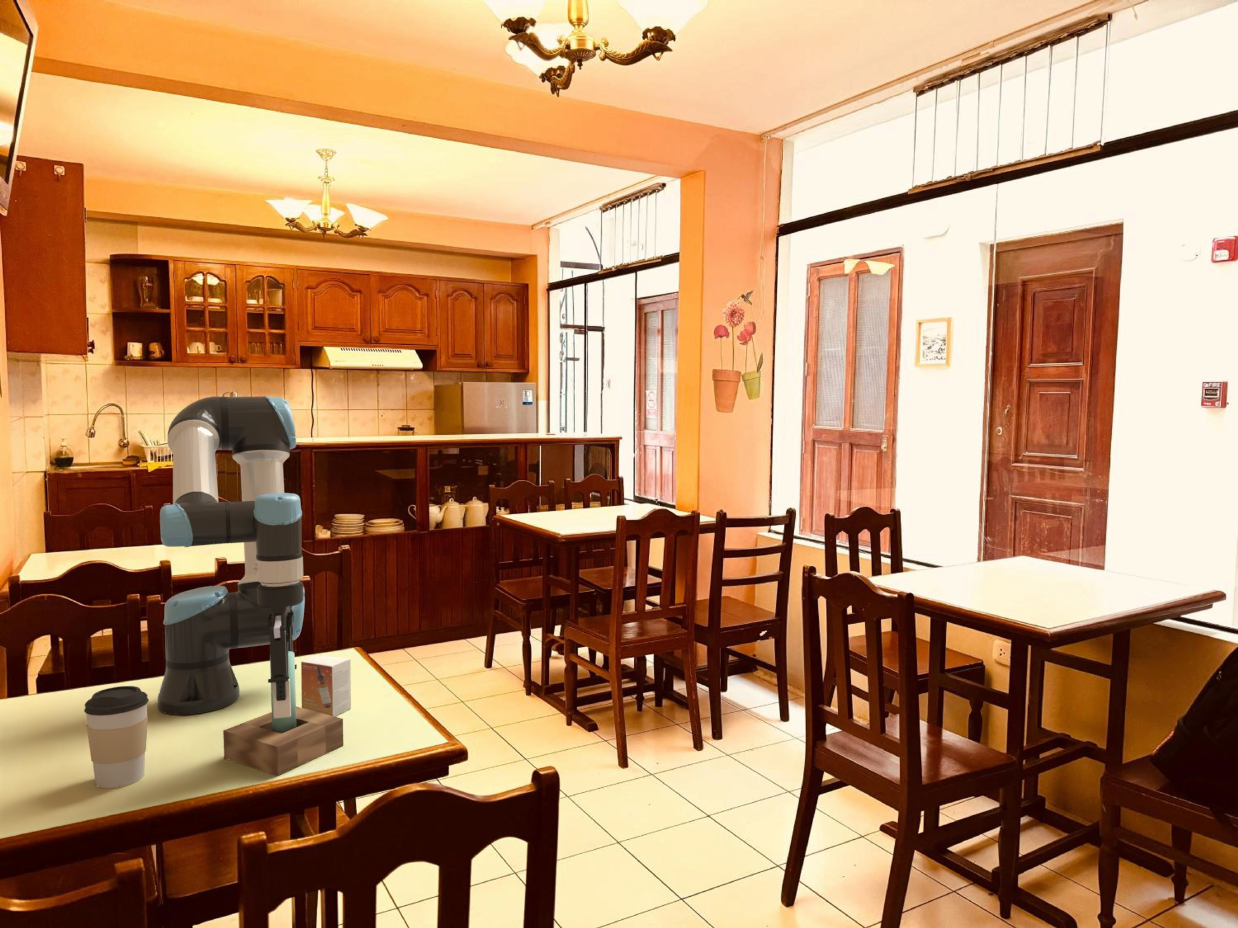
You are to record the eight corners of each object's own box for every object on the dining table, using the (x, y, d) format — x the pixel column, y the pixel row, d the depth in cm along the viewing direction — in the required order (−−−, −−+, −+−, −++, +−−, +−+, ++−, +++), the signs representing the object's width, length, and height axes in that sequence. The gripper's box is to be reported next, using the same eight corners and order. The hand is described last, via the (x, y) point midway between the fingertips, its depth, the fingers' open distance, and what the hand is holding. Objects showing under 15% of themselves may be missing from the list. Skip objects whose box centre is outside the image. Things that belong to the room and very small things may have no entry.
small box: (301, 712, 165) (299, 661, 165) (320, 703, 171) (319, 653, 170) (332, 718, 162) (331, 666, 162) (352, 708, 168) (351, 658, 167)
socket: (224, 758, 144) (223, 730, 144) (290, 730, 156) (290, 704, 156) (278, 775, 137) (277, 746, 137) (343, 745, 150) (342, 718, 149)
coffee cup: (106, 767, 140) (102, 681, 139) (161, 765, 141) (158, 680, 140) (75, 792, 131) (71, 700, 130) (135, 790, 132) (131, 699, 131)
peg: (267, 733, 146) (264, 655, 145) (286, 725, 149) (284, 649, 148) (282, 737, 144) (280, 659, 143) (301, 730, 147) (299, 653, 146)
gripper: (263, 573, 152) (267, 697, 153) (249, 593, 135) (253, 732, 137) (307, 571, 154) (310, 694, 155) (298, 590, 137) (302, 727, 139)
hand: (283, 711), depth 146 cm, fingers closed on peg, 4 cm apart
